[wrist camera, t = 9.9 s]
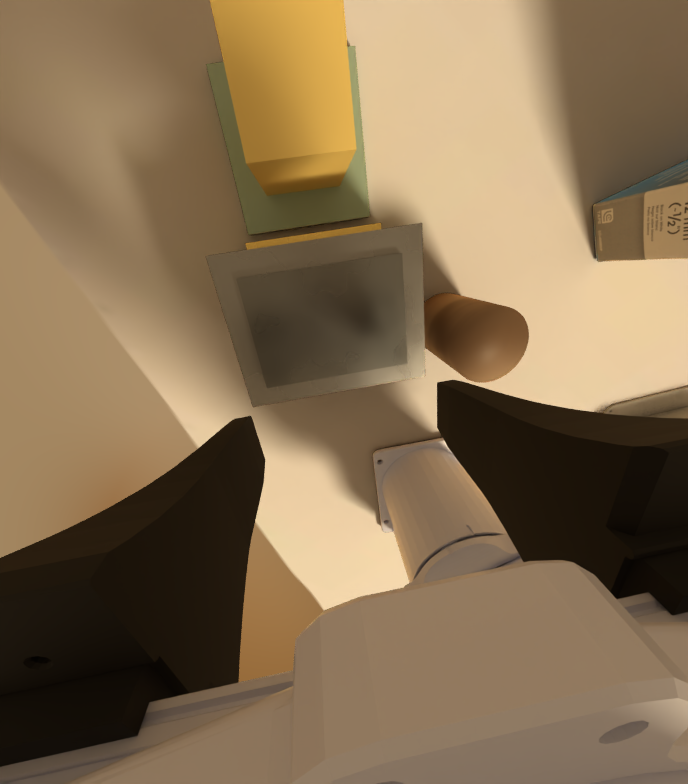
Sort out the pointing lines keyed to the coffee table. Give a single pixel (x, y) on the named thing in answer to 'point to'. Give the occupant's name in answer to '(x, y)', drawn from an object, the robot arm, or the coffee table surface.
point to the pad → (292, 206)
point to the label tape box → (645, 219)
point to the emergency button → (655, 405)
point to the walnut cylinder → (474, 335)
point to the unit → (325, 310)
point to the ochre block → (289, 89)
